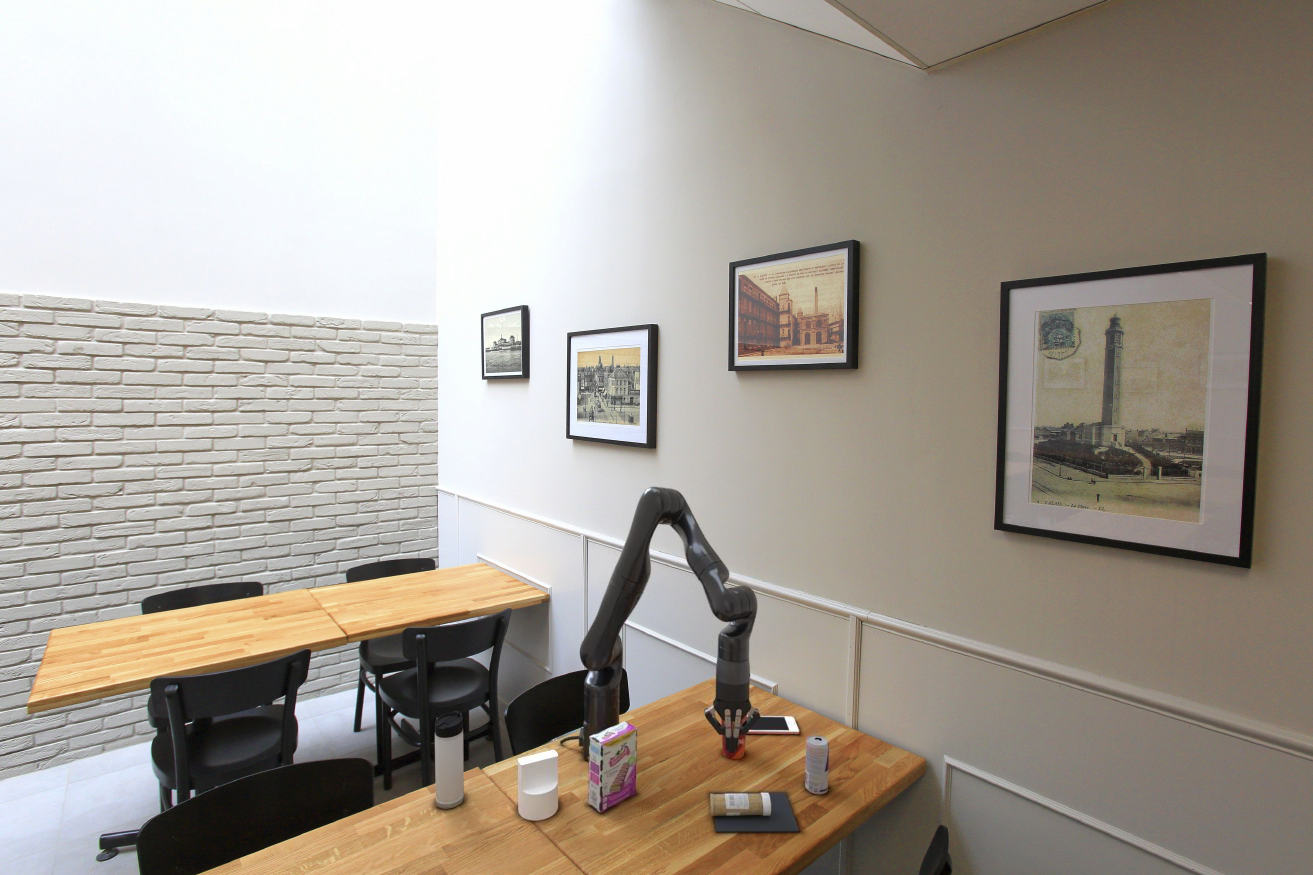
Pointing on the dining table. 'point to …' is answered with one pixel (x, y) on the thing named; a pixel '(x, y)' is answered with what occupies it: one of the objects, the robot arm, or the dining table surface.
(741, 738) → the paper cup
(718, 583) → the robot arm
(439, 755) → the travel mug
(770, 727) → the cell phone
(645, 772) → the dining table surface
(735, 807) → the sprinkles bottle
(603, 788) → the candy bar box
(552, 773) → the base with upright slab
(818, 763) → the energy drink
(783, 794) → the rubber mat
